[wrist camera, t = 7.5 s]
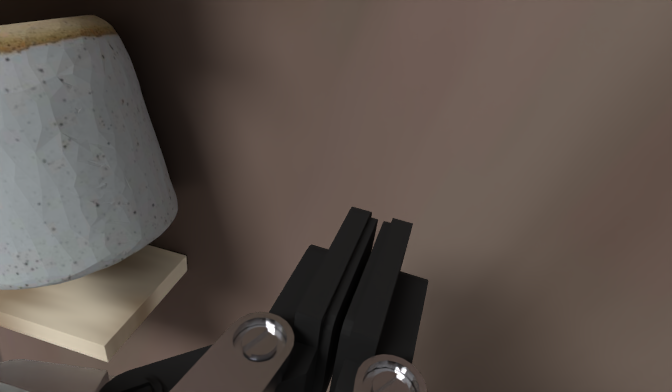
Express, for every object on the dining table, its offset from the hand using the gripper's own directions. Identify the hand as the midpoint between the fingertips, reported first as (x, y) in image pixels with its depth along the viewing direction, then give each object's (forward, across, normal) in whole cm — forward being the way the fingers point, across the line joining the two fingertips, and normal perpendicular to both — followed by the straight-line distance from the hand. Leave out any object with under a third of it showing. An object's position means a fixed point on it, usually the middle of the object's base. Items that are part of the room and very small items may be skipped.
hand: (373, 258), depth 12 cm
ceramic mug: (+6, +14, +1) cm, 15 cm away
